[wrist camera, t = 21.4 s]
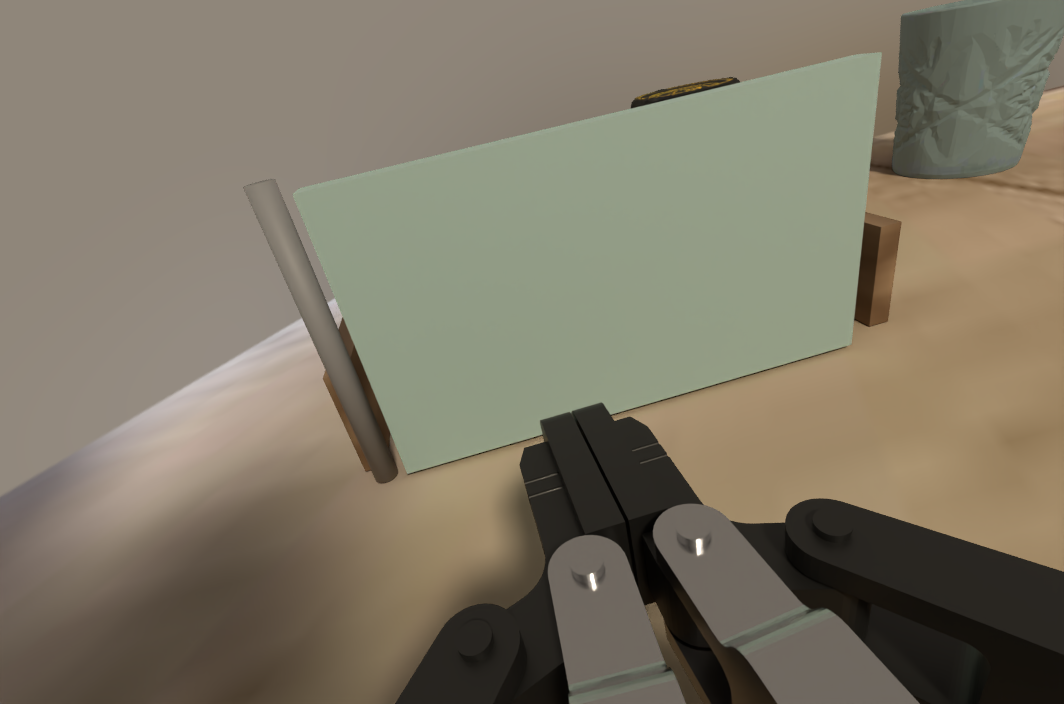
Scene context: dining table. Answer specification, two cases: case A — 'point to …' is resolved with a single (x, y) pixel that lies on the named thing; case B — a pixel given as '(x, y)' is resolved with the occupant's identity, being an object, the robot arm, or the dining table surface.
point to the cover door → (587, 261)
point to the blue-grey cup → (971, 84)
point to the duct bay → (868, 310)
